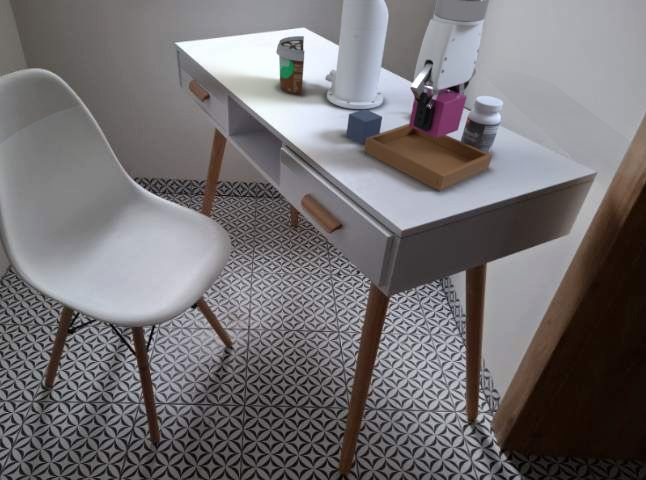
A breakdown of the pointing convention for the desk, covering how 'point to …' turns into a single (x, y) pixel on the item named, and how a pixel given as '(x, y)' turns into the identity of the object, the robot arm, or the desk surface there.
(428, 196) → the desk surface
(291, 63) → the food container
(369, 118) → the blue block
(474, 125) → the pill bottle
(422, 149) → the tray
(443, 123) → the pink block
